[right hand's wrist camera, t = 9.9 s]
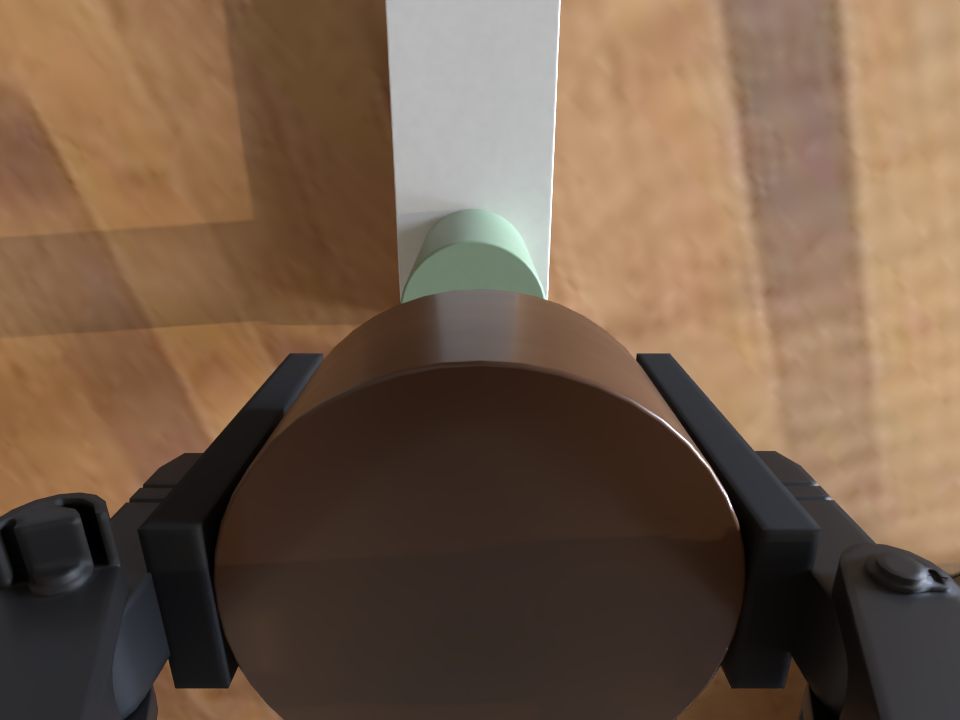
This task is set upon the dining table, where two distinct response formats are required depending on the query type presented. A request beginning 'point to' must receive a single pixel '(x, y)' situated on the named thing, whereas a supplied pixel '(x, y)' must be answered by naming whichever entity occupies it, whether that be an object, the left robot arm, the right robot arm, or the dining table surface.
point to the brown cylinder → (479, 529)
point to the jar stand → (473, 142)
